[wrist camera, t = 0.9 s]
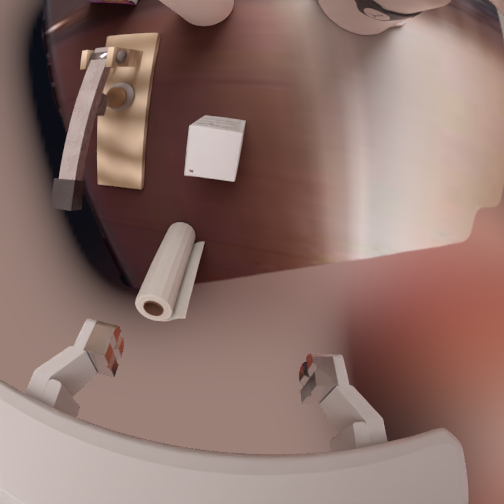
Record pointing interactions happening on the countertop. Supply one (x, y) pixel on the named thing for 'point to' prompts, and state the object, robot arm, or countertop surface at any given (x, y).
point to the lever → (81, 133)
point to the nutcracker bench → (130, 121)
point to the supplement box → (214, 148)
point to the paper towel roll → (171, 275)
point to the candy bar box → (114, 1)
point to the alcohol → (201, 10)
